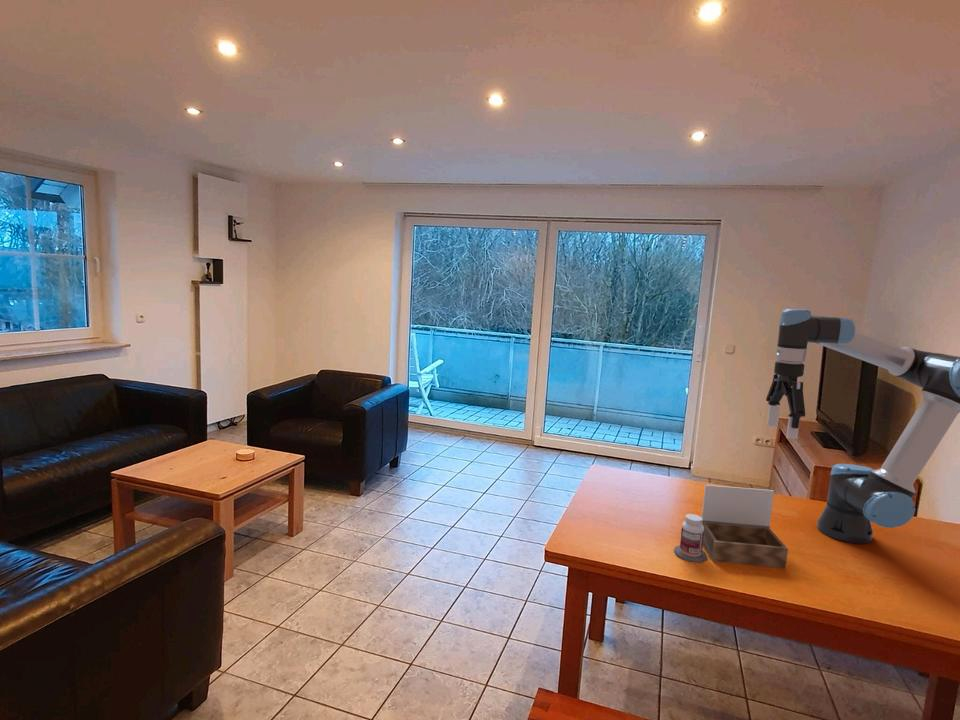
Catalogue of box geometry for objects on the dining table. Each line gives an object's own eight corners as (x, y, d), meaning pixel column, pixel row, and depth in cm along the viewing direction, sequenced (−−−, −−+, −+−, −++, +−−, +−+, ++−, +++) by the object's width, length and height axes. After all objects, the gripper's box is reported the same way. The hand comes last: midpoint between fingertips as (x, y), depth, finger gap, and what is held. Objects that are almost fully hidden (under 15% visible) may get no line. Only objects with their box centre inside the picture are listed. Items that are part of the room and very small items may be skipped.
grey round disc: (701, 548, 162) (701, 546, 162) (710, 563, 154) (710, 561, 153) (670, 545, 163) (671, 543, 163) (678, 560, 155) (678, 558, 154)
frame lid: (768, 527, 165) (773, 490, 163) (769, 529, 164) (774, 491, 162) (701, 521, 167) (705, 484, 166) (702, 523, 166) (706, 485, 165)
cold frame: (761, 540, 169) (766, 504, 167) (785, 568, 153) (790, 528, 151) (696, 534, 172) (700, 498, 170) (712, 561, 155) (717, 522, 153)
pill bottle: (687, 545, 163) (691, 511, 161) (706, 554, 158) (710, 519, 156) (675, 550, 159) (678, 515, 158) (693, 559, 154) (697, 523, 153)
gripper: (759, 355, 169) (752, 420, 173) (796, 367, 145) (786, 443, 148) (784, 356, 169) (776, 422, 172) (825, 369, 144) (815, 445, 147)
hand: (781, 432), depth 160 cm, fingers open, 13 cm apart
